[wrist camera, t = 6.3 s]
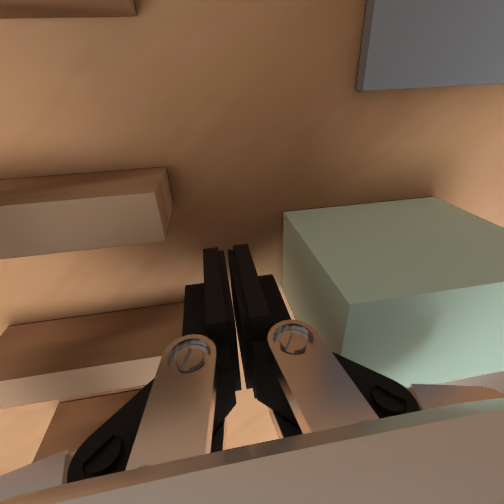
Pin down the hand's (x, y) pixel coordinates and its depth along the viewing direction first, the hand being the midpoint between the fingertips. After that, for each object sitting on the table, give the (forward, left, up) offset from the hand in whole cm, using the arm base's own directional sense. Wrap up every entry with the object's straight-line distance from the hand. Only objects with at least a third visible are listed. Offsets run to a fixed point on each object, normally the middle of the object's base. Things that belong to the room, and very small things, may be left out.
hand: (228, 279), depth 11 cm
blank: (-6, 0, -2) cm, 6 cm away
